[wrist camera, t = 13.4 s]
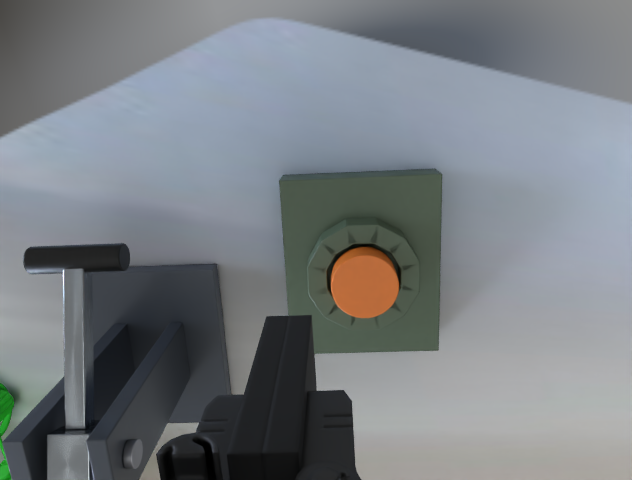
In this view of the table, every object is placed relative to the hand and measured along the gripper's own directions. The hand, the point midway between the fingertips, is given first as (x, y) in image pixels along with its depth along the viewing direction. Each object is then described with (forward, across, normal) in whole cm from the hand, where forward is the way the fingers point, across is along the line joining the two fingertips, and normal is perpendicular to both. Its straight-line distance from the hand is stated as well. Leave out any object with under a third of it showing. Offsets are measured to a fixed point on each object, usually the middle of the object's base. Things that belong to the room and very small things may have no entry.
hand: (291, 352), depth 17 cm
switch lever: (+9, -12, -5) cm, 16 cm away
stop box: (+18, +3, -3) cm, 19 cm away
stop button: (+15, +3, -3) cm, 15 cm away
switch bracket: (+18, -12, -9) cm, 24 cm away
